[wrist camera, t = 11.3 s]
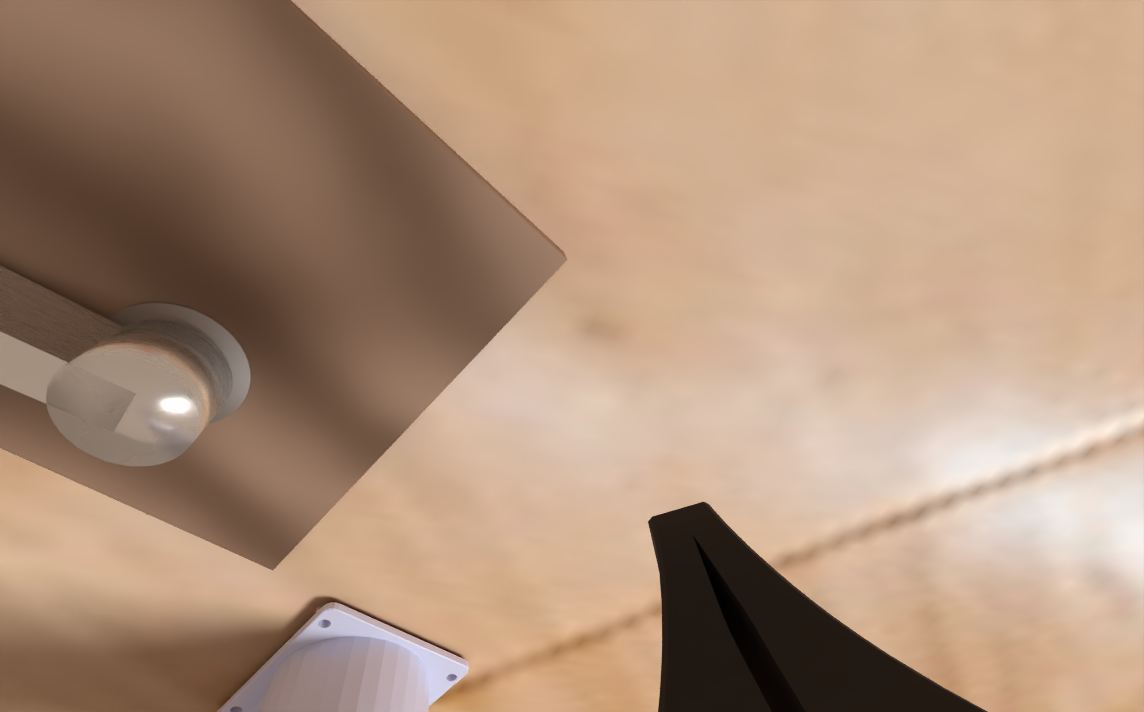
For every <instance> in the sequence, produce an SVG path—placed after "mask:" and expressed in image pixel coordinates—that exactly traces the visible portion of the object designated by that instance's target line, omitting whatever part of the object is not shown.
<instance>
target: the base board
mask: <svg viewBox="0 0 1144 712" xmlns="http://www.w3.org/2000/svg"><path fill="white" fill-rule="evenodd" d="M566 260H567V258H566V256H565V254H564V252H563V251H562V250H561V249H560V248H559V247H558V246H557V245H556V244H555V243H553V242H552V241H551V240H550V239H549V238H548V237H547V236H546V235H545V234H544V233H543V232H542V231H540V230H539V229H538V228H537V227H536V226H535V225H534V224H533V223H532V222H531V221H530V220H528V219H527V218H526V217H525V216H524V215H523V214H522V213H521V212H520V211H519V210H518V209H517V208H515V207H514V206H513V205H512V204H511V203H510V202H509V201H508V200H507V199H506V198H505V197H504V196H502V195H501V194H500V193H499V192H498V191H497V190H496V189H495V188H494V187H493V186H492V185H491V184H489V183H488V182H487V181H486V180H485V179H484V178H483V177H482V176H481V175H480V174H479V173H477V172H476V171H475V170H474V169H473V168H472V167H471V166H470V165H469V164H468V163H467V162H466V161H464V160H463V159H462V158H461V157H460V156H459V155H458V154H457V153H456V152H455V151H454V150H453V149H451V148H450V147H449V146H448V145H447V144H446V143H445V142H444V141H443V140H442V139H441V138H440V137H438V136H437V135H436V134H435V133H434V132H433V131H432V130H431V129H430V128H429V127H428V126H426V125H425V124H424V123H423V122H422V121H421V120H420V119H419V118H418V117H417V116H416V115H415V114H413V113H412V112H411V111H410V110H409V109H408V108H407V107H406V106H405V105H404V104H403V103H402V102H400V101H399V100H398V99H397V98H396V97H395V96H394V95H393V94H392V93H391V92H390V91H389V90H387V89H386V88H385V87H384V86H383V85H382V84H381V83H380V82H379V81H378V80H377V79H375V78H374V77H373V76H372V75H371V74H370V73H369V72H368V71H367V70H366V69H365V68H364V67H362V66H361V65H360V64H359V63H358V62H357V61H356V60H355V59H354V58H353V57H352V56H351V55H349V54H348V53H347V52H346V51H345V50H344V49H343V48H342V47H341V46H340V45H339V44H338V43H336V42H335V41H334V40H333V39H332V38H331V37H330V36H329V35H328V34H327V33H326V32H324V31H323V30H322V29H321V28H320V27H319V26H318V25H317V24H316V23H315V22H314V21H313V20H311V19H310V18H309V17H308V16H307V15H306V14H305V13H304V12H303V11H302V10H301V9H300V8H298V7H297V6H296V5H295V4H294V3H293V2H292V1H291V0H0V266H2V267H4V268H6V269H8V270H10V271H12V272H14V273H16V274H18V275H20V276H22V277H24V278H26V279H28V280H30V281H32V282H34V283H36V284H38V285H40V286H42V287H44V288H46V289H48V290H50V291H52V292H54V293H56V294H58V295H60V296H62V297H64V298H66V299H68V300H70V301H72V302H74V303H76V304H78V305H80V306H82V307H84V308H86V309H88V310H90V311H92V312H94V313H97V314H99V315H101V316H103V317H105V318H107V319H109V320H111V321H113V322H115V323H117V324H119V325H121V326H125V325H127V324H130V323H133V322H136V321H141V320H151V319H153V320H166V321H172V322H176V323H179V324H182V325H185V326H188V327H190V328H192V329H194V330H196V331H198V332H200V333H201V334H203V335H204V336H206V337H207V338H208V339H210V340H211V341H212V342H213V343H214V344H215V345H216V346H217V347H218V348H219V349H220V350H221V351H222V353H223V354H224V356H225V357H226V359H227V361H228V363H229V365H230V368H231V371H232V377H233V385H232V391H231V394H230V396H229V398H228V400H227V401H226V403H225V404H224V405H223V406H222V408H221V409H220V410H219V411H218V413H217V414H216V415H215V416H214V417H213V419H212V420H211V421H210V422H209V424H208V425H207V426H206V427H205V429H204V430H203V431H202V432H201V433H200V435H199V436H198V437H197V438H196V440H195V441H194V442H193V443H192V444H191V446H190V447H189V448H188V449H187V450H186V451H185V452H184V453H183V454H181V455H180V456H178V457H177V458H175V459H173V460H171V461H168V462H165V463H162V464H158V465H153V466H125V465H120V464H115V463H111V462H107V461H104V460H102V459H99V458H96V457H94V456H92V455H90V454H88V453H86V452H84V451H83V450H81V449H79V448H78V447H77V446H75V445H74V444H72V443H71V442H70V441H69V440H68V439H67V438H65V436H64V435H63V434H62V433H61V432H60V431H59V430H58V428H57V427H56V426H55V424H54V423H53V421H52V419H51V417H50V415H49V412H48V409H47V404H46V403H43V402H41V401H39V400H36V399H34V398H32V397H29V396H27V395H25V394H22V393H20V392H18V391H15V390H13V389H11V388H8V387H6V386H4V385H1V384H0V448H2V449H4V450H6V451H8V452H10V453H13V454H15V455H17V456H19V457H22V458H24V459H26V460H28V461H31V462H33V463H35V464H37V465H39V466H42V467H44V468H46V469H48V470H51V471H53V472H55V473H57V474H59V475H62V476H64V477H66V478H68V479H71V480H73V481H75V482H77V483H80V484H82V485H84V486H86V487H88V488H91V489H93V490H95V491H97V492H100V493H102V494H104V495H106V496H108V497H111V498H113V499H115V500H117V501H120V502H122V503H124V504H126V505H129V506H131V507H133V508H135V509H137V510H140V511H142V512H144V513H146V514H149V515H151V516H153V517H155V518H157V519H160V520H162V521H164V522H166V523H169V524H171V525H173V526H175V527H178V528H180V529H182V530H184V531H186V532H189V533H191V534H193V535H195V536H198V537H200V538H202V539H204V540H206V541H209V542H211V543H213V544H215V545H218V546H220V547H222V548H224V549H227V550H229V551H231V552H233V553H235V554H238V555H240V556H242V557H244V558H247V559H249V560H251V561H253V562H255V563H258V564H260V565H262V566H264V567H267V568H269V569H271V570H274V569H275V568H276V566H277V565H278V564H279V563H280V562H281V561H282V560H283V559H284V558H285V557H286V556H287V555H288V554H289V553H290V552H291V551H292V550H293V549H294V547H295V546H296V545H297V544H298V543H299V542H300V541H301V540H302V539H303V538H304V537H305V536H306V535H307V534H308V533H309V532H310V531H311V530H312V528H313V527H314V526H315V525H316V524H317V523H318V522H319V521H320V520H321V519H322V518H323V517H324V516H325V515H326V514H327V513H328V512H329V511H330V509H331V508H332V507H333V506H334V505H335V504H336V503H337V502H338V501H339V500H340V499H341V498H342V497H343V496H344V495H345V494H346V493H347V492H348V490H349V489H350V488H351V487H352V486H353V485H354V484H355V483H356V482H357V481H358V480H359V479H360V478H361V477H362V476H363V475H364V474H365V473H366V471H367V470H368V469H369V468H370V467H371V466H372V465H373V464H374V463H375V462H376V461H377V460H378V459H379V458H380V457H381V456H382V455H383V454H384V452H385V451H386V450H387V449H388V448H389V447H390V446H391V445H392V444H393V443H394V442H395V441H396V440H397V439H398V438H399V437H400V436H401V435H402V433H403V432H404V431H405V430H406V429H407V428H408V427H409V426H410V425H411V424H412V423H413V422H414V421H415V420H416V419H417V418H418V417H419V416H420V414H421V413H422V412H423V411H424V410H425V409H426V408H427V407H428V406H429V405H430V404H431V403H432V402H433V401H434V400H435V399H436V398H437V397H438V396H439V394H440V393H441V392H442V391H443V390H444V389H445V388H446V387H447V386H448V385H449V384H450V383H451V382H452V381H453V380H454V379H455V378H456V377H457V375H458V374H459V373H460V372H461V371H462V370H463V369H464V368H465V367H466V366H467V365H468V364H469V363H470V362H471V361H472V360H473V359H474V358H475V356H476V355H477V354H478V353H479V352H480V351H481V350H482V349H483V348H484V347H485V346H486V345H487V344H488V343H489V342H490V341H491V340H492V339H493V337H494V336H495V335H496V334H497V333H498V332H499V331H500V330H501V329H502V328H503V327H504V326H505V325H506V324H507V323H508V322H509V321H510V320H511V318H512V317H513V316H514V315H515V314H516V313H517V312H518V311H519V310H520V309H521V308H522V307H523V306H524V305H525V304H526V303H527V302H528V301H529V299H530V298H531V297H532V296H533V295H534V294H535V293H536V292H537V291H538V290H539V289H540V288H541V287H542V286H543V285H544V284H545V283H546V282H547V280H548V279H549V278H550V277H551V276H552V275H553V274H554V273H555V272H556V271H557V270H558V269H559V268H560V267H561V266H562V265H563V264H564V263H565V261H566Z"/></svg>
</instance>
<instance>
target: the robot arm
mask: <svg viewBox="0 0 1144 712" xmlns="http://www.w3.org/2000/svg"><path fill="white" fill-rule="evenodd" d="M648 523H649V528H650V532H651V537H652V541H653V546H654V550H655V554H656V559H657V563H658V568H659V572H660V585H661V598H662V667H661V685H660V698H659V709H658V712H987V711H985V710H983V709H982V708H980V707H978V706H976V705H974V704H972V703H971V702H969V701H967V700H965V699H963V698H961V697H960V696H958V695H956V694H954V693H952V692H951V691H949V690H947V689H945V688H943V687H942V686H940V685H938V684H937V683H935V682H933V681H932V680H930V679H928V678H927V677H925V676H923V675H922V674H920V673H918V672H917V671H915V670H913V669H912V668H910V667H908V666H907V665H905V664H904V663H902V662H900V661H899V660H897V659H895V658H894V657H892V656H890V655H889V654H887V653H886V652H884V651H882V650H881V649H879V648H878V647H876V646H875V645H873V644H872V643H870V642H869V641H867V640H866V639H864V638H863V637H861V636H860V635H858V634H857V633H856V632H854V631H853V630H851V629H850V628H849V627H847V626H846V625H844V624H843V623H841V622H840V621H839V620H837V619H836V618H834V617H833V616H832V615H830V614H829V613H828V612H826V611H825V610H824V609H822V608H821V607H820V606H819V605H817V604H816V603H815V602H813V601H812V600H811V599H810V598H808V597H807V596H806V595H805V594H803V593H802V592H801V591H800V590H798V589H797V588H796V587H795V586H793V585H792V584H791V583H790V582H789V581H787V580H786V579H785V578H784V577H783V576H781V575H780V574H779V573H778V572H777V571H776V570H775V569H774V568H772V567H771V566H770V565H769V564H768V563H767V562H766V561H765V560H763V559H762V558H761V557H760V556H759V555H758V554H757V553H756V552H755V551H754V550H752V549H751V548H750V547H749V546H748V545H747V544H746V543H745V542H744V541H743V540H742V539H741V538H740V537H739V536H738V535H737V534H736V533H735V532H734V531H733V530H732V529H731V528H730V527H729V526H728V525H727V524H726V523H725V522H724V521H723V520H722V519H721V517H720V516H719V515H718V514H717V513H716V512H715V511H714V510H713V508H712V507H711V506H710V505H709V504H707V503H705V502H701V503H698V504H694V505H691V506H687V507H684V508H681V509H677V510H674V511H670V512H667V513H663V514H660V515H657V516H653V517H652V518H651V519H650V520H649V521H648ZM468 669H469V663H468V661H466V660H465V659H463V658H461V657H458V656H456V655H454V654H452V653H449V652H447V651H445V650H443V649H440V648H438V647H436V646H434V645H432V644H429V643H427V642H425V641H423V640H420V639H418V638H416V637H414V636H411V635H409V634H407V633H405V632H402V631H400V630H398V629H396V628H393V627H391V626H389V625H387V624H384V623H382V622H380V621H378V620H376V619H373V618H371V617H369V616H367V615H364V614H362V613H360V612H358V611H355V610H353V609H351V608H349V607H346V606H344V605H342V604H340V603H336V602H331V603H327V604H325V605H324V606H322V607H321V608H320V609H319V610H318V611H317V612H316V613H315V614H314V615H313V616H312V617H311V618H310V619H309V620H308V621H307V622H306V623H305V624H304V625H303V626H302V627H301V628H300V629H299V630H298V631H297V632H296V633H295V634H294V635H293V636H292V637H291V638H290V639H289V640H288V641H287V642H286V643H285V644H284V645H283V646H282V647H281V648H280V649H279V650H278V651H277V652H276V653H275V654H274V655H273V656H272V657H271V658H270V659H269V660H268V661H267V662H266V663H265V664H264V665H263V666H262V667H261V668H260V669H259V670H258V671H257V672H256V673H255V674H254V675H253V676H252V677H251V678H250V679H249V680H248V681H247V682H246V683H245V684H244V685H243V686H242V687H241V688H240V689H239V690H238V691H237V692H236V693H235V694H234V695H233V696H232V697H231V698H230V699H229V700H228V701H227V702H226V703H225V704H224V705H223V706H222V707H221V708H220V709H219V710H218V711H217V712H428V707H429V706H430V705H431V704H432V703H434V702H435V701H436V700H437V699H438V698H439V697H440V696H442V695H443V694H444V693H445V692H446V691H447V690H449V689H450V688H451V687H452V686H453V685H454V684H456V683H457V682H458V681H459V680H460V679H461V678H463V677H464V676H465V675H466V674H467V673H468Z"/></svg>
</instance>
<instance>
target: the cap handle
mask: <svg viewBox="0 0 1144 712" xmlns="http://www.w3.org/2000/svg"><path fill="white" fill-rule="evenodd" d="M0 384H1V385H4V386H6V387H8V388H11V389H13V390H15V391H18V392H20V393H22V394H25V395H27V396H29V397H32V398H34V399H36V400H39V401H41V402H43V403H46V404H47V409H48V412H49V415H50V417H51V419H52V421H53V423H54V424H55V426H56V427H57V428H58V430H59V431H60V432H61V433H62V434H63V435H64V436H65V438H67V439H68V440H69V441H70V442H71V443H72V444H74V445H75V446H77V447H78V448H79V449H81V450H83V451H84V452H86V453H88V454H90V455H92V456H94V457H96V458H99V459H102V460H104V461H107V462H111V463H115V464H120V465H125V466H153V465H158V464H162V463H165V462H168V461H171V460H173V459H175V458H177V457H178V456H180V455H181V454H183V453H184V452H185V451H186V450H187V449H188V448H189V447H190V446H191V444H192V443H193V442H194V441H195V440H196V438H197V437H198V436H199V435H200V433H201V432H202V431H203V430H204V429H205V427H206V426H207V425H208V424H209V422H210V421H211V420H212V419H213V417H214V416H215V415H216V414H217V413H218V411H219V410H220V409H221V408H222V406H223V405H224V404H225V403H226V401H227V400H228V398H229V396H230V394H231V391H232V385H233V377H232V371H231V368H230V365H229V363H228V361H227V359H226V357H225V356H224V354H223V353H222V351H221V350H220V349H219V348H218V347H217V346H216V345H215V344H214V343H213V342H212V341H211V340H210V339H208V338H207V337H206V336H204V335H203V334H201V333H200V332H198V331H196V330H194V329H192V328H190V327H188V326H185V325H182V324H179V323H176V322H172V321H166V320H153V319H151V320H141V321H136V322H133V323H130V324H127V325H125V326H121V325H119V324H117V323H115V322H113V321H111V320H109V319H107V318H105V317H103V316H101V315H99V314H97V313H94V312H92V311H90V310H88V309H86V308H84V307H82V306H80V305H78V304H76V303H74V302H72V301H70V300H68V299H66V298H64V297H62V296H60V295H58V294H56V293H54V292H52V291H50V290H48V289H46V288H44V287H42V286H40V285H38V284H36V283H34V282H32V281H30V280H28V279H26V278H24V277H22V276H20V275H18V274H16V273H14V272H12V271H10V270H8V269H6V268H4V267H2V266H0Z"/></svg>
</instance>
